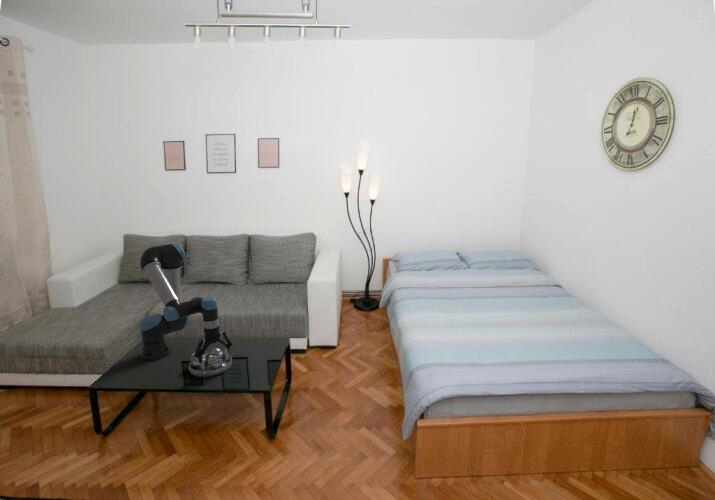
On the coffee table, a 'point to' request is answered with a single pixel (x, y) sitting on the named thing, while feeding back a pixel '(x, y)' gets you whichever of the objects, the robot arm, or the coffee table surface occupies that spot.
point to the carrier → (200, 372)
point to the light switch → (193, 357)
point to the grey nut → (215, 363)
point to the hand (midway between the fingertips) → (215, 363)
